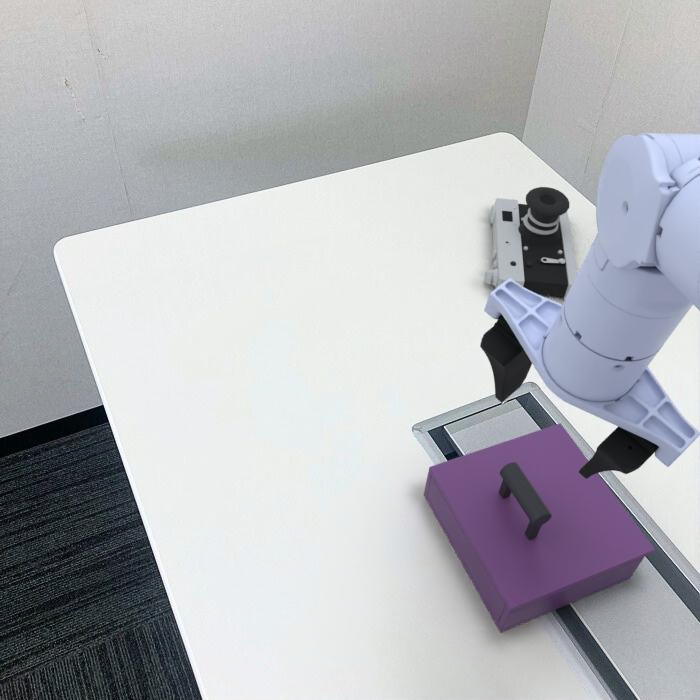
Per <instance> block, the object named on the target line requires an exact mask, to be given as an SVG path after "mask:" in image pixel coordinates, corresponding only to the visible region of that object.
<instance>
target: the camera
mask: <svg viewBox="0 0 700 700" xmlns="http://www.w3.org/2000/svg"><path fill="white" fill-rule="evenodd" d="M569 209H570V200H569V198H568V197H567V196H566V195H565V193H563V192H562V191H560V190H558V189H557V188H553V187H548V186H539V187H534V188H532V189H530V190H529V191H528V192H527V193H526V195H525V203H519V200H518V199H513V198H512V199H511V198H501V197H496V198H495V201H494V204H493V205H491V207H490V215H489V217H490V218H489V221H490V224H491V225H492V241H493V242H492V245H493V247H492V248H493V250H492V255H491V258H492V259H491V260H493V262H492V267H491V268H490V269H486V270H485V274H484V278H483V283H485V284H487V285H492V286H493V287H494V290H495V289H496V288H497V287H498V286H500V285H501V284H502V283H504V282H505V281H506V280H507V279H509V278H512V279H513V280H514V281H515V282H517V283H518V284H520V285H521V286H523V287H524V288H526V289H528V290H530V291H532V292H534V293H536V294H538V295H541V296H552V297H560V298H561V297H563V302H564V301H565V299H566V297H567V295H568V293H569V290H570V288H571V286H572V284H573V282H574V280H575V278H576V276H577V274H578V271H577V264H576V263H577V262H576V257H575V251H574V243H573V237H572V232H571V226H570V217H569V213H568V211H569Z"/></svg>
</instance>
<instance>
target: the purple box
mask: <svg viewBox="0 0 700 700" xmlns="http://www.w3.org/2000/svg"><path fill="white" fill-rule="evenodd" d="M423 496H424V499H425V500H426V502H427V504H428V505H429V507H430V510H431V511H432V512H433V514H434V516H435V519H436V520H437V522H438V523H439V525H440V527H441V529H442V531H443V532H444V535H445V536H446V537H447V540H448V542H449V543H450V545H451V547H452V549H453V550H454V552H455V554H456V555H457V557H458V559H459V561H460V563H461V565H462V566H463V568H464V570H465V572H466V574H467V575H468V577H469V579H470V581H471V582H472V584H473V586H474V588H475V590H476V591H477V593H478V595H479V597H480V599H481V600H482V602H483V604H484V606H485V607H486V609H487V611H488V613H489V615H490V617H491V618H492V620H493V623H494V624H495V625H496V627H497V629H498V631H499V633H504V632H506V631H509V630H511V629H513V628H516V627H518V626H521V625H523V624H525V623H528V622H530V621H532V620H534V619H535V620H536V619H537V618H540V617H542V616H544V615H547V614H549V613H552V612H554V611H557V610H558V609H561V608H563V607H566V606H569V605H571V604H573V603H576V602H578V601H580V600H582V599H585V598H587V597H590V596H593V595H594V594H596V593H599V592H601V591H604V590H606V589H609V588H611V587H613V586H616V585H619V584H621V583H623V582H625V581H627V580H630V579H631V578H632V576H633V575H634V573H635V572H636V570H637V569H638V568H639V566H640V565H641V564H642V562H643V560H644V559H645V557H643V558H640V559H638V560H635V561H633V562H630V563H628V564H626V565H623V566H621V567H618V568H616V569H613V570H611V571H609V572H606V573H604V574H601V575H599V576H596V577H594V578H592V579H589V580H587V581H584V582H582V583H579V584H577V585H575V586H572V587H570V588H567V589H565V590H563V591H560V592H558V593H555V594H553V595H550V596H548V597H546V598H543V599H541V600H538V601H536V602H533V603H531V604H529V605H526V606H524V607H521V608H519V609H516V610H514V611H512V612H510V611H509V610H508V608H507V606H506V604H505V603H504V601H503V599H502V597H501V596H500V594H499V592H498V590H497V589H496V587H495V585H494V584H493V582H492V580H491V578H490V577H489V575H488V573H487V571H486V570H485V568H484V566H483V564H482V563H481V561H480V559H479V557H478V556H477V554H476V552H475V551H474V549H473V547H472V545H471V544H470V542H469V540H468V538H467V537H466V535H465V533H464V531H463V530H462V528H461V526H460V524H459V523H458V521H457V519H456V518H455V516H454V514H453V512H452V511H451V509H450V507H449V505H448V504H447V502H446V500H445V498H444V497H443V495H442V493H441V491H440V490H439V488H438V486H437V485H436V483H435V481H434V479H433V478H432V476H431V474H430V472H429V471H428V472H427V477H426V481H425V487H424V491H423Z"/></svg>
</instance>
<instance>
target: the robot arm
mask: <svg viewBox="0 0 700 700" xmlns="http://www.w3.org/2000/svg"><path fill="white" fill-rule="evenodd" d="M596 192H597V193H596V201H595V202H596V205H595V216H596V220H595V221H596V230H597V232H596V235H595V237H594V239H593V242H592V244H591V246H590V247H589V250H588V252H587V254H586V256H585V258H584V260H583V262H582V264H581V265H580V268H579V270H578V271H577V276H576V278H575V280H574V282H573V284H572V286H571V288H570V290H569V293H568V295H567V297H566V299H565V301H564V300H563V303H562V304H561V303H559V302H557V301H555V300H552V299H549V298H547V297H545V296H544V295H541V294H536V293H534V292H532V291H530V290H528V289H526V288H524V287H523V286H521V285H520V284H518V283H517V282H515V281H514V280H513V279H512V278H509V279H507V280H506V281H505V282H504V283H502V284H501V285H500V286H498V287H497V288H496V289H495V288H494V289H493V290H492V291H490V293H489V295H488V298H487V300H486V304H485V306H484V309H483V311H484V312H485V313H486V314H487V315H488V316H489V317H491V318H492V319H494V320H496V322H495V323H493V326H492V327H490V328H489V329H488V330H487V331H486V332H485V333H484V334H483V335H482V337H481V340H480V346H479V347H480V348H481V350H482V351H483V352H484V355H485V356H486V357H487V358H486V359H488V362H489V364H490V367H491V370H492V374H493V383H494V394H495V395H494V396H495V398H496V399H497V401H499V402H500V403H501V404H502V403H503V402H505V401H506V400H507V399H508V398H510V396H511V395H513V394H514V393H515V392H516V391H517V390H519V389H520V388H521V387H522V385H523V384H524V382H525V380H526V379H527V377H528V374H529V372H530V370H531V368H532V365H533V367H534V369H535V370H536V372H537V373H538V375H539V377H540V378H541V380H542V382H543V384H544V385H545V386H546V388H548V390H549V391H550V392H551V393H553V394H554V395H555V397H557V398H559V400H561V401H562V402H565V403H566V404H568V405H570V406H573V407H575V408H577V409H579V410H581V411H584V412H586V413H588V414H590V415H593V416H594V417H597V418H599V419H601V420H603V421H606V422H608V423H610V424H612V425H614V426H616V428H615V429H614V430H613V431H612V432H611V433H610V434H609V435H608V436H607V437H606V438H604V440H603V441H601V443H600V444H599V445H598V446H597V447H596V449H595V452H594V454H593V455H592V457H591V458H590V459H588V460H589V461H588V462H587V463H586V464H585V465H584V466H583V467H582V468H581V469H580V470H579V473H580V474H581V475H582V476H583V477H584V478H586V479H588V478H589V477H590V476H592V475H594V474H597V473H598V474H600V473H604V472H609V471H610V472H611V471H613V472H615V471H616V472H619V473H622V474H624V475H628V474H630V473H633V472H635V471H638V470H639V469H640V468H641V467H642V466H643V465H644V464H645V463H646V462H647V461H648V460H649V459H650V458H651V457H652V456H653V455H654V456H655V457H656V459H657V460H658V461H660V462H661V463H662V464H663V465H664V466H665V467H667V468H669V467H670V466H671V465H672V464H674V462H675V461H676V460H677V459H678V458H680V456H681V455H683V453H684V452H685V451H686V450H687V449H688V448H689V447H690V446H691V445H692V444H693V443H694V442H695V441H696V440H697V439H698V438H699V436H700V431H699V430H698V428H696V427H695V426H693V424H691V423H690V422H689V421H688V420H687V419H686V418H685V416H684V415H683V414H682V413H681V411H680V410H679V409H678V408H677V406H676V405H675V403H674V402H673V400H672V399H671V398H670V396H669V395H668V393H667V392H666V391H665V389H664V388H663V386H662V385H661V383H660V382H659V380H657V378H656V376H655V375H654V373H653V372H652V370H651V369H650V367H649V365H650V364H651V363H652V362H653V360H654V359H655V357H656V356H657V354H658V353H659V352H660V351H661V349H662V348H663V347H664V345H665V344H666V342H667V341H668V339H669V338H670V337H671V335H672V334H673V332H675V330H676V329H677V327H678V326H679V324H680V323H682V321H683V319H684V318H685V317H686V315H687V314H688V312H690V310H691V308H692V307H693V306H694V307H695V308H696V309H697V310H698V311H699V312H700V133H699V134H698V133H659V132H643V133H642V132H641V133H639V134H637V135H635V136H634V135H632V134H624V135H621V136H620V137H619V138H618V139H616V141H614V142H613V144H612V146H611V147H610V149H609V151H608V152H607V155H606V157H605V160H604V162H603V165H602V168H601V171H600V175H599V180H598V185H597V191H596Z"/></svg>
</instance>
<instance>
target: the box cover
mask: <svg viewBox="0 0 700 700" xmlns="http://www.w3.org/2000/svg"><path fill="white" fill-rule="evenodd" d="M589 460H590V459H588V457H587V456H586V455H585V454H584V452H583V451H582V450H581V448H580V447H579V446H578V445H577V443H576V442H575V440H574V439H573V438H572V436H571V435H570V434H569V432H568V431H567V430H566V428H565V427H564V426H563V424H562V423H557V424H554V425H551V426H548V427H545V428H542V429H539V430H536V431H533V432H530V433H527V434H524V435H520V436H518V437H514V438H512V439H509V440H505V441H503V442H500V443H497V444H493V445H491V446H488V447H485V448H482V449H479V450H475V451H473V452H470V453H467V454H464V455H461V456H458V457H455V458H452V459H449V460H446V461H442V462H440V463H436V464H434V465H431V466H429V468H428V472H430V474H431V476H432V478H433V479H434V481H435V483H436V485H437V486H438V488H439V490H440V491H441V493H442V495H443V497H444V498H445V500H446V502H447V504H448V505H449V507H450V509H451V511H452V512H453V514H454V516H455V518H456V519H457V521H458V523H459V524H460V526H461V528H462V530H463V531H464V533H465V535H466V537H467V538H468V540H469V542H470V544H471V545H472V547H473V549H474V551H475V552H476V554H477V556H478V557H479V559H480V561H481V563H482V564H483V566H484V568H485V570H486V571H487V573H488V575H489V577H490V578H491V580H492V582H493V584H494V585H495V587H496V589H497V590H498V592H499V594H500V596H501V597H502V599H503V601H504V603H505V604H506V606H507V608H508V610H509V611H510V612H512V611H514V610H516V609H519V608H521V607H524V606H526V605H529V604H531V603H533V602H536V601H538V600H541V599H543V598H546V597H548V596H550V595H553V594H555V593H558V592H560V591H563V590H565V589H567V588H570V587H572V586H575V585H577V584H579V583H582V582H584V581H587V580H589V579H592V578H594V577H596V576H599V575H601V574H604V573H606V572H609V571H611V570H613V569H616V568H618V567H621V566H623V565H626V564H628V563H630V562H633V561H635V560H638V559H640V558H643V557H644V558H645V557H647V556H650V555H652V554H654V553H655V551H656V548H655V547H654V545H653V544H652V543H651V541H650V540H649V538H647V536H646V534H645V533H644V532H643V531H642V529H641V528H640V527H639V525H638V524H637V523H636V521H635V520H634V519H633V518H632V516H631V514H629V512H628V511H627V509H626V508H625V507H624V506H623V504H622V502H621V501H620V500H619V499H618V498H617V496H616V495H615V493H614V492H613V491H612V490H611V488H610V487H609V486H608V484H607V483H606V482H605V480H604V479H603V477H602V476H601V475H600V473H597V474H594V475H592V476H590V477H589V478H588V479H586V478H584V477H583V476H582V475H581V474H580V473H579V470H580V469H581V468H582V467H583V466H584V465H585V464H586V463H587V462H588V461H589ZM644 558H643V559H644Z"/></svg>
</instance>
